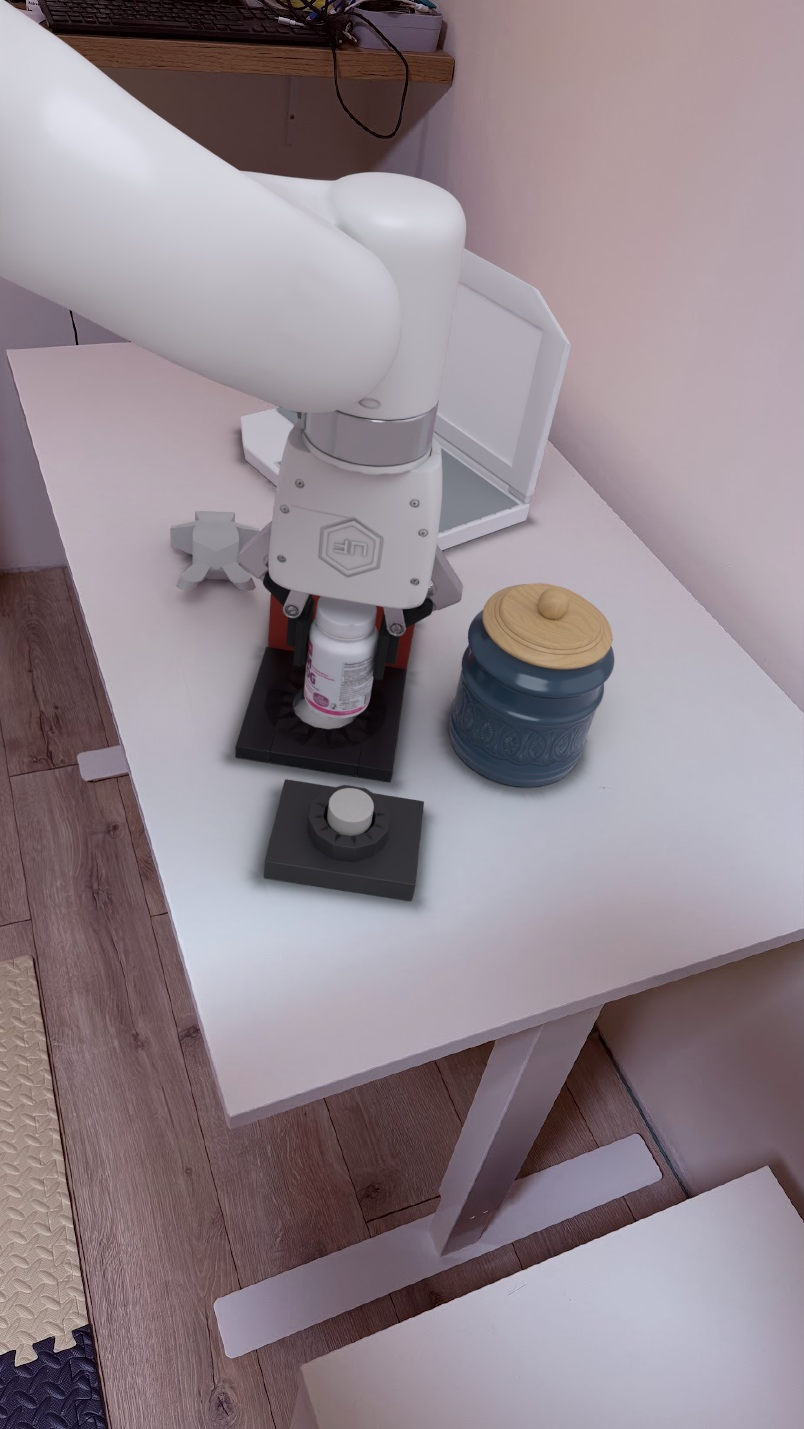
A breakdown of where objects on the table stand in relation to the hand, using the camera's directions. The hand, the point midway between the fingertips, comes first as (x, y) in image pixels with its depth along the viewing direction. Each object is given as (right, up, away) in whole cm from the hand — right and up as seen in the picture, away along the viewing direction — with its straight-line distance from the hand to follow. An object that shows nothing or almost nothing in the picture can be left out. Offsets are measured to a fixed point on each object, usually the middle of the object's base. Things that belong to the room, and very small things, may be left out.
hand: (341, 657), depth 70 cm
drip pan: (-3, -4, +25) cm, 26 cm away
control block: (-1, -15, +14) cm, 21 cm away
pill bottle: (-1, -3, +3) cm, 4 cm away
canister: (+15, -7, +26) cm, 31 cm away
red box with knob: (-2, +4, +34) cm, 34 cm away
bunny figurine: (-16, +12, +40) cm, 44 cm away
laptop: (0, +26, +57) cm, 63 cm away
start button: (0, -12, +12) cm, 17 cm away
